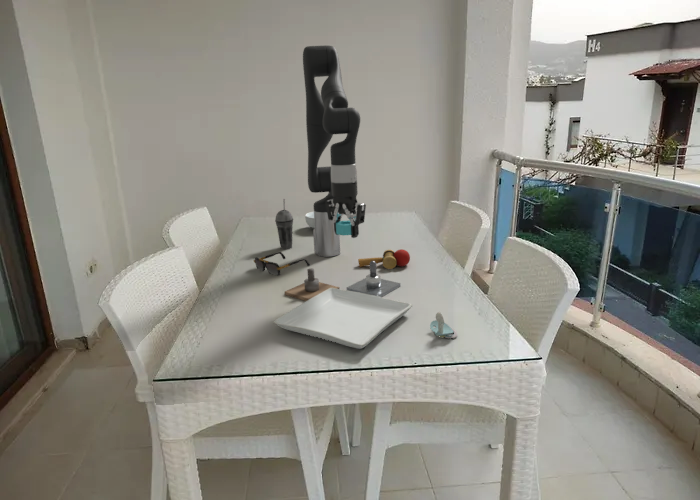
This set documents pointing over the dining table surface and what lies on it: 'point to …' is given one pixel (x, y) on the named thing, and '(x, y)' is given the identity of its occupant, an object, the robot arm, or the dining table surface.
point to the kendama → (389, 259)
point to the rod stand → (308, 288)
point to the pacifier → (442, 327)
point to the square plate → (344, 316)
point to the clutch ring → (343, 227)
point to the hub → (374, 284)
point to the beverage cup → (284, 228)
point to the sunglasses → (273, 264)
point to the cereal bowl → (310, 219)
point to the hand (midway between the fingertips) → (346, 235)
